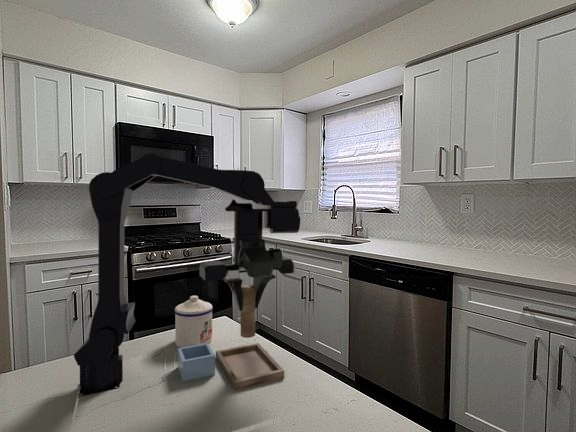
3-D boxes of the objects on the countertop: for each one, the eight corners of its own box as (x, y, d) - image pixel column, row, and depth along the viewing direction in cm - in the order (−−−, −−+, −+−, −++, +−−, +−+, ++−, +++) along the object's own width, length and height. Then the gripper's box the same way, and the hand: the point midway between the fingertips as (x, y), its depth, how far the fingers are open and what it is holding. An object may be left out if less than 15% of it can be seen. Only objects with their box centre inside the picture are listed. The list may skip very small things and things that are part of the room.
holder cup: (182, 385, 62) (182, 361, 62) (177, 369, 68) (177, 348, 68) (215, 377, 65) (215, 355, 65) (207, 363, 71) (207, 343, 71)
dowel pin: (243, 338, 66) (243, 289, 66) (238, 333, 69) (238, 285, 68) (257, 336, 67) (257, 287, 67) (252, 330, 70) (252, 284, 70)
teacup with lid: (207, 352, 76) (207, 302, 76) (168, 351, 76) (168, 301, 76) (219, 331, 88) (219, 288, 88) (185, 331, 88) (185, 288, 88)
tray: (234, 393, 60) (234, 382, 60) (215, 360, 72) (215, 351, 72) (284, 380, 64) (284, 370, 64) (258, 351, 77) (258, 342, 77)
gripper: (212, 239, 56) (212, 330, 56) (307, 235, 64) (306, 314, 65) (198, 233, 66) (198, 310, 66) (283, 231, 74) (282, 299, 75)
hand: (248, 309), depth 68 cm, fingers closed on dowel pin, 3 cm apart
